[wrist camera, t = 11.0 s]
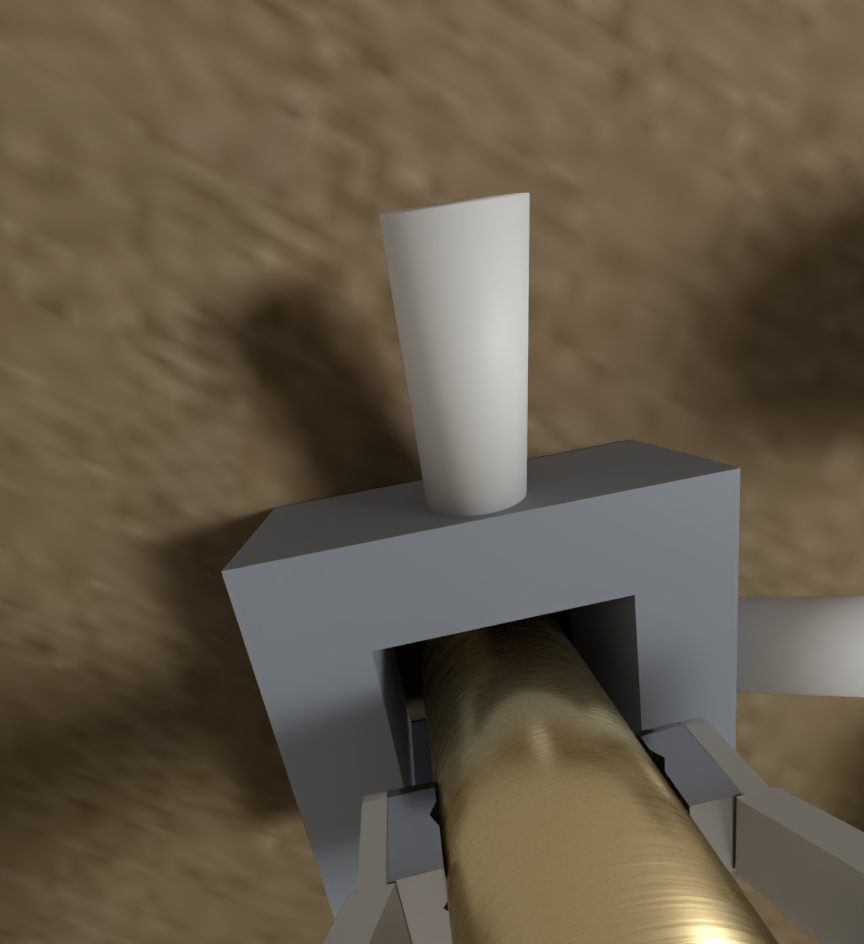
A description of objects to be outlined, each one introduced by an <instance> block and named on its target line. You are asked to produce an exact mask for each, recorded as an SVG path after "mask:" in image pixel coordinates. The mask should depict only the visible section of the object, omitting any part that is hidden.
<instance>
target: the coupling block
mask: <svg viewBox="0 0 864 944" xmlns="http://www.w3.org/2000/svg"><path fill="white" fill-rule="evenodd" d="M529 194H530V193H517V194H508V195H499V196H491V197H483V198H476V199H468V200H461V201H454V202H447V203H440V204H434V205H427V206H421V207H415V208H409V209H403V210H397V211H392V212H387V213H382V214H379V219H380V225H381V231H382V237H383V243H384V249H385V255H386V261H387V267H388V273H389V279H390V285H391V291H392V297H393V303H394V310H395V316H396V322H397V328H398V334H399V340H400V346H401V352H402V358H403V364H404V370H405V376H406V382H407V388H408V394H409V400H410V406H411V412H412V418H413V424H414V430H415V436H416V442H417V448H418V454H419V460H420V466H421V472H422V478H423V480H419V481H413V482H408V483H403V484H398V485H392V486H387V487H382V488H377V489H371V490H366V491H361V492H356V493H351V494H345V495H340V496H335V497H330V498H324V499H319V500H314V501H309V502H304V503H298V504H293V505H288V506H283V507H277V508H275V509H274V510H273V511H272V512H271V513H270V514H269V516H268V517H267V518H266V519H265V520H264V521H263V523H262V524H261V525H260V526H259V527H258V529H257V530H256V531H255V532H254V533H253V534H252V536H251V537H250V538H249V539H248V540H247V542H246V543H245V544H244V545H243V546H242V547H241V549H240V550H239V551H238V552H237V553H236V555H235V556H234V557H233V558H232V559H231V560H230V562H229V563H228V564H227V565H226V566H225V567H224V569H223V570H222V571H221V572H222V575H223V578H224V582H225V585H226V588H227V591H228V594H229V597H230V600H231V603H232V606H233V609H234V612H235V615H236V618H237V621H238V624H239V628H240V631H241V634H242V637H243V640H244V643H245V646H246V649H247V652H248V655H249V658H250V661H251V664H252V667H253V670H254V674H255V677H256V680H257V683H258V686H259V689H260V692H261V695H262V698H263V701H264V704H265V707H266V710H267V713H268V716H269V720H270V723H271V726H272V729H273V732H274V735H275V738H276V741H277V744H278V747H279V750H280V753H281V756H282V759H283V762H284V766H285V769H286V772H287V775H288V778H289V781H290V784H291V787H292V790H293V793H294V796H295V799H296V802H297V805H298V809H299V812H300V815H301V818H302V821H303V824H304V827H305V830H306V833H307V836H308V839H309V842H310V845H311V848H312V851H313V855H314V858H315V861H316V864H317V867H318V870H319V873H320V876H321V879H322V882H323V885H324V888H325V891H326V894H327V897H328V901H329V904H330V907H331V910H332V913H333V916H334V919H336V917H337V915H338V914H339V912H340V910H341V908H342V906H343V904H344V902H345V900H346V898H347V896H348V895H349V894H351V893H355V892H356V890H357V874H358V858H359V843H360V827H361V811H362V803H363V799H364V796H366V795H371V794H375V793H380V792H384V791H388V790H393V789H398V788H403V787H408V786H413V785H418V784H423V783H427V782H432V781H434V780H433V771H432V763H431V754H430V745H429V736H428V728H427V720H423V721H418V722H414V723H411V720H410V716H409V711H408V707H407V702H406V698H405V693H404V689H403V684H402V680H401V675H400V671H399V666H398V662H397V657H396V653H395V648H394V647H395V646H400V645H404V644H409V643H414V642H418V641H423V640H427V639H432V638H437V637H441V636H446V635H451V634H455V633H460V632H465V631H469V630H474V629H478V628H483V627H488V626H492V625H497V624H502V623H506V622H511V621H516V620H520V619H525V618H530V617H534V616H539V615H543V614H548V613H553V612H557V611H562V610H567V609H570V617H571V627H572V637H573V646H574V648H575V649H576V651H577V652H578V653H579V655H580V656H581V658H582V659H583V661H584V662H585V664H586V665H587V667H588V668H589V669H590V671H591V672H592V674H593V675H594V677H595V678H596V680H597V681H598V682H599V684H600V685H601V687H602V688H603V690H604V691H605V693H606V694H607V696H608V697H609V698H610V700H611V701H612V703H613V704H614V706H615V707H616V709H617V710H618V711H619V713H620V714H621V716H622V717H623V719H624V720H625V722H626V723H627V725H628V726H629V727H630V729H631V730H632V732H633V733H634V732H638V731H642V730H646V729H650V728H654V727H658V726H662V725H666V724H670V723H674V722H676V723H677V722H680V721H684V720H689V719H693V718H697V717H702V718H703V719H705V720H707V721H708V722H709V723H710V725H711V726H712V727H713V728H714V729H715V730H716V731H717V732H718V733H719V734H720V735H721V736H722V737H723V738H724V740H725V741H726V742H727V743H728V744H729V745H730V746H731V747H732V748H733V749H734V750H735V743H736V692H753V693H777V694H800V695H823V696H847V697H864V596H825V597H738V569H739V511H740V468H738V467H734V466H731V465H727V464H723V463H719V462H715V461H712V460H708V459H704V458H700V457H697V456H693V455H689V454H685V453H682V452H678V451H674V450H670V449H667V448H663V447H659V446H655V445H651V444H648V443H644V442H640V441H636V440H628V441H622V442H617V443H612V444H607V445H601V446H596V447H591V448H586V449H581V450H575V451H570V452H565V453H560V454H554V455H549V456H544V457H539V458H534V459H528V460H527V399H528V297H529Z"/></svg>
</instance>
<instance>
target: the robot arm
mask: <svg viewBox="0 0 864 944" xmlns="http://www.w3.org/2000/svg"><path fill="white" fill-rule="evenodd" d="M634 735H635V736H636V738H637V739H638V740H639V742H640V743H641V745H642V746H643V748H644V749H645V751H646V752H647V754H648V755H649V756H650V758H651V759H652V761H653V762H654V764H655V765H656V767H657V768H658V770H659V771H660V772H661V774H662V775H663V777H664V778H665V780H666V781H667V783H668V784H669V785H670V787H671V788H672V790H673V791H674V793H675V794H676V796H677V797H678V799H679V800H680V801H681V803H682V804H683V806H684V807H685V809H686V810H687V812H688V813H689V814H690V816H691V817H692V819H693V820H694V822H695V823H696V825H697V826H698V828H699V829H700V830H701V832H702V833H703V835H704V836H705V838H706V839H707V841H708V842H709V843H710V845H711V846H712V848H713V849H714V851H715V852H716V854H717V855H718V857H719V858H720V859H721V861H722V862H723V864H724V865H725V867H726V868H727V870H728V871H729V872H730V871H735V874H736V875H738V876H739V877H740V878H741V879H743V880H744V881H745V882H746V883H748V884H749V885H750V886H751V887H753V888H754V889H755V890H756V891H758V892H759V893H760V894H761V895H763V896H764V897H765V898H766V899H768V900H769V901H770V902H771V903H773V904H774V905H775V906H776V907H777V908H779V909H780V910H781V911H782V912H784V913H785V914H786V915H787V916H789V917H790V918H791V919H792V920H794V921H795V922H796V923H797V924H799V925H800V926H801V927H802V928H804V929H805V930H806V931H807V932H809V933H810V934H811V935H812V936H813V937H815V938H816V939H817V940H818V941H820V942H821V943H822V944H864V832H862V831H860V830H859V829H857V828H855V827H853V826H851V825H849V824H847V823H845V822H843V821H841V820H840V819H838V818H836V817H834V816H832V815H830V814H828V813H826V812H824V811H822V810H821V809H819V808H817V807H815V806H813V805H811V804H809V803H807V802H805V801H804V800H802V799H800V798H798V797H796V796H794V795H792V794H790V793H788V792H786V791H785V790H783V789H781V788H779V787H773V788H769V787H768V785H767V784H766V783H765V782H764V781H763V780H762V779H761V778H760V777H759V776H758V775H757V774H756V773H755V772H754V770H753V769H752V768H751V767H750V766H749V765H748V764H747V763H746V762H745V761H744V760H743V759H742V758H741V757H740V756H739V754H738V753H737V752H736V751H735V750H734V749H733V748H732V747H731V746H730V745H729V744H728V743H727V742H726V741H725V740H724V738H723V737H722V736H721V735H720V734H719V733H718V732H717V731H716V730H715V729H714V728H713V727H712V726H711V725H710V723H709V722H708V721H707V720H705V719H703V718H702V717H697V718H693V719H689V720H684V721H680V722H677V723H676V722H674V723H670V724H666V725H662V726H658V727H654V728H650V729H646V730H642V731H638V732H634ZM446 887H447V879H446V870H445V861H444V852H443V843H442V836H441V831H440V827H439V809H438V800H437V792H436V784H435V781H432V782H427V783H423V784H418V785H413V786H408V787H403V788H398V789H393V790H388V791H384V792H380V793H375V794H371V795H366V796H364V799H363V803H362V811H361V827H360V843H359V858H358V874H357V890H356V892H355V893H351V894H349V895H348V896H347V898H346V900H345V902H344V904H343V906H342V908H341V910H340V912H339V914H338V915H337V917H336V919H335V921H334V923H333V925H332V927H331V929H330V931H329V933H328V935H327V936H326V938H325V940H324V942H323V944H451V943H452V937H451V929H450V920H449V911H448V902H447V894H446Z"/></svg>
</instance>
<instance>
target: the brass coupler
mask: <svg viewBox="0 0 864 944" xmlns="http://www.w3.org/2000/svg"><path fill="white" fill-rule="evenodd" d="M421 675H422V684H423V693H424V701H425V710H426V719H427V728H428V736H429V745H430V754H431V763H432V771H433V780H434V781H435V784H436V792H437V800H438V809H439V827H440V831H441V836H442V843H443V852H444V861H445V870H446V879H447V887H446V894H447V902H448V911H449V920H450V929H451V937H452V944H778V942H777V941H776V939H775V938H774V936H773V935H772V933H771V932H770V931H769V929H768V928H767V926H766V925H765V923H764V922H763V920H762V919H761V917H760V916H759V915H758V913H757V912H756V910H755V909H754V907H753V906H752V904H751V903H750V902H749V900H748V899H747V897H746V896H745V894H744V893H743V891H742V890H741V888H740V887H739V886H738V884H737V883H736V881H735V880H734V878H733V877H732V875H731V874H730V873H729V871H728V870H727V868H726V867H725V865H724V864H723V862H722V861H721V859H720V858H719V857H718V855H717V854H716V852H715V851H714V849H713V848H712V846H711V845H710V843H709V842H708V841H707V839H706V838H705V836H704V835H703V833H702V832H701V830H700V829H699V828H698V826H697V825H696V823H695V822H694V820H693V819H692V817H691V816H690V814H689V813H688V812H687V810H686V809H685V807H684V806H683V804H682V803H681V801H680V800H679V799H678V797H677V796H676V794H675V793H674V791H673V790H672V788H671V787H670V785H669V784H668V783H667V781H666V780H665V778H664V777H663V775H662V774H661V772H660V771H659V770H658V768H657V767H656V765H655V764H654V762H653V761H652V759H651V758H650V756H649V755H648V754H647V752H646V751H645V749H644V748H643V746H642V745H641V743H640V742H639V740H638V739H637V738H636V736H635V735H634V733H633V732H632V730H631V729H630V727H629V726H628V725H627V723H626V722H625V720H624V719H623V717H622V716H621V714H620V713H619V711H618V710H617V709H616V707H615V706H614V704H613V703H612V701H611V700H610V698H609V697H608V696H607V694H606V693H605V691H604V690H603V688H602V687H601V685H600V684H599V682H598V681H597V680H596V678H595V677H594V675H593V674H592V672H591V671H590V669H589V668H588V667H587V665H586V664H585V662H584V661H583V659H582V658H581V656H580V655H579V653H578V652H577V651H576V649H575V648H574V646H573V645H572V643H571V642H570V640H569V639H568V637H567V636H566V635H565V633H564V632H563V630H562V629H561V627H560V626H559V624H558V623H557V622H556V620H555V619H554V618H553V616H552V615H551V614H550V613H548V614H543V615H539V616H534V617H530V618H525V619H520V620H516V621H511V622H506V623H502V624H497V625H492V626H488V627H483V628H478V629H474V630H469V631H465V632H460V633H455V634H451V635H446V636H441V637H437V638H432V639H427V641H426V643H425V646H424V649H423V652H422V657H421Z"/></svg>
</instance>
